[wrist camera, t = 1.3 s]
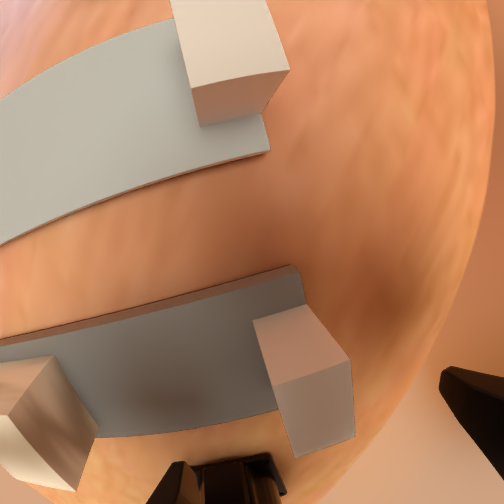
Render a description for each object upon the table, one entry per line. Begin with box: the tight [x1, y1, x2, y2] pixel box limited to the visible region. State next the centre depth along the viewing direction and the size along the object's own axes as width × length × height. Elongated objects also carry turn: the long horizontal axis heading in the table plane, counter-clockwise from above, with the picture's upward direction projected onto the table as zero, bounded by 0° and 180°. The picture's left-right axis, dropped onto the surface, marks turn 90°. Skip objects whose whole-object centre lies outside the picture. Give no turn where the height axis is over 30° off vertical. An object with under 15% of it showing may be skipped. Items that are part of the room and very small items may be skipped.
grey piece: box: [0, 264, 355, 458], centre depth 10 cm, size 7×20×6 cm, turn 104°
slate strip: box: [0, 0, 290, 246], centre depth 8 cm, size 7×20×6 cm, turn 104°
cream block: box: [0, 355, 99, 492], centre depth 9 cm, size 5×5×5 cm
